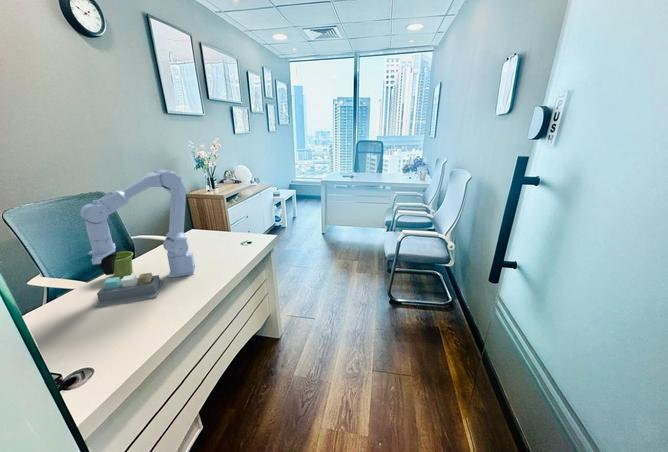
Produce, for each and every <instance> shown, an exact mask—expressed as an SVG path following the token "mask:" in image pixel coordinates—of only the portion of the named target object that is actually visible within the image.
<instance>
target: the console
mask: <svg viewBox="0 0 668 452" xmlns="http://www.w3.org/2000/svg"><path fill="white" fill-rule="evenodd" d="M136 278H137V284H136V286H130V287H122V283H121V286H120V287H119V288H116V289H109V290H105V286H104V284H103V286H102V287H101V288H100V289H99V290H98V291H97V293H96V295H97V298H98V301H97V302H96V304H95V305H94V308H96V309H97V308H102V307H109V306H114V305H115V306H116V305H120V304H126V303H127V304H128V303H133V302H139V301H144V300H150V299H156V298H157V297H158V295H159V292H160V291H161V288H162V285H163V284H164V279H161V278H160V275H159V274H157V275H152V278H153V281H152V283H150V284H143V285H139V283H138V277H136Z"/></svg>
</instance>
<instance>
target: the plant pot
mask: <svg viewBox="0 0 668 452" xmlns="http://www.w3.org/2000/svg"><path fill="white" fill-rule="evenodd" d="M116 253H117V256H116V259H115V269H114V274H113V276H114V278H116V277H120V279H121V278H123V277H124V276H130V275H133V255H134V252H132V251H119V252H116Z"/></svg>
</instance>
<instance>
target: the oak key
mask: <svg viewBox="0 0 668 452" xmlns="http://www.w3.org/2000/svg"><path fill="white" fill-rule="evenodd" d="M152 276H153V273H152V272H147V273H140V274H139V276H138V277H137V278H138V283H139V285H143V284H150V283H152V281H153V278H152Z"/></svg>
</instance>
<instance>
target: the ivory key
mask: <svg viewBox="0 0 668 452" xmlns="http://www.w3.org/2000/svg"><path fill="white" fill-rule="evenodd" d="M137 278H138V277H137V274H130V275H128V276H124V277H122V279H120V280H121V283H122V287H130V286H136V284H137Z"/></svg>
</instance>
